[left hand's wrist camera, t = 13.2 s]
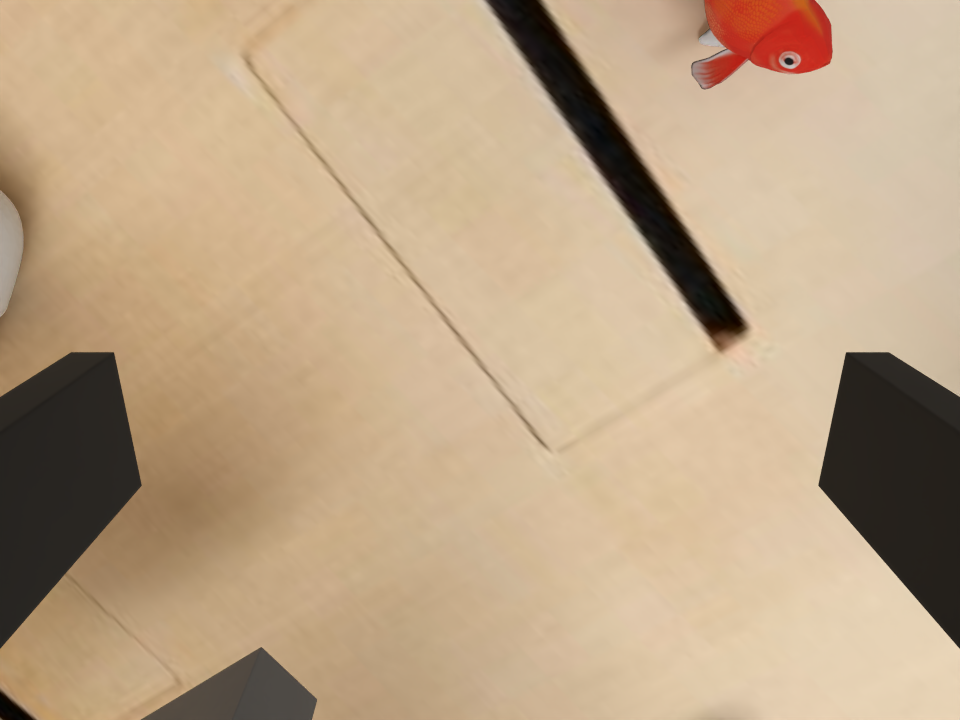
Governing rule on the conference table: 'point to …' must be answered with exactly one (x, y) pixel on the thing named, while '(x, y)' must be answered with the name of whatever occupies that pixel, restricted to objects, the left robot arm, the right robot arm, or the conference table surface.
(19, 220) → the projector
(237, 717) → the bar
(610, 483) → the conference table surface
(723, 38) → the fish
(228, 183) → the conference table surface
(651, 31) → the conference table surface
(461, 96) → the conference table surface
